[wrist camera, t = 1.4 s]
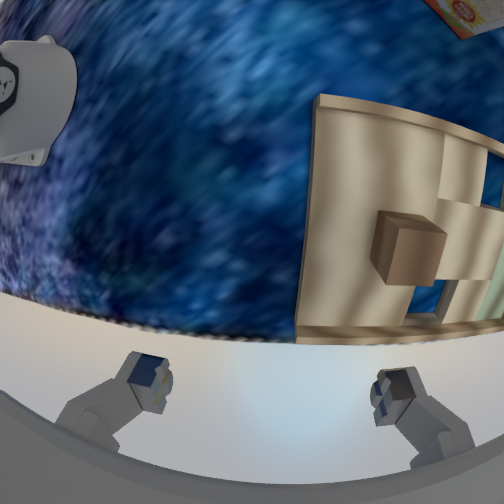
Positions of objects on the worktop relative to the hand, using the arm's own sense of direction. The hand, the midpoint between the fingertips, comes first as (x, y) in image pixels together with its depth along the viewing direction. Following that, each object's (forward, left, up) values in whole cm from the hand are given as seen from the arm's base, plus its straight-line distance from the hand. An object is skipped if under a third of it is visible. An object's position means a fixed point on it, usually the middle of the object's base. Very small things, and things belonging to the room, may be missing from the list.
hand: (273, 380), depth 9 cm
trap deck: (+20, 0, -20) cm, 28 cm away
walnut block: (+12, 0, -17) cm, 21 cm away
